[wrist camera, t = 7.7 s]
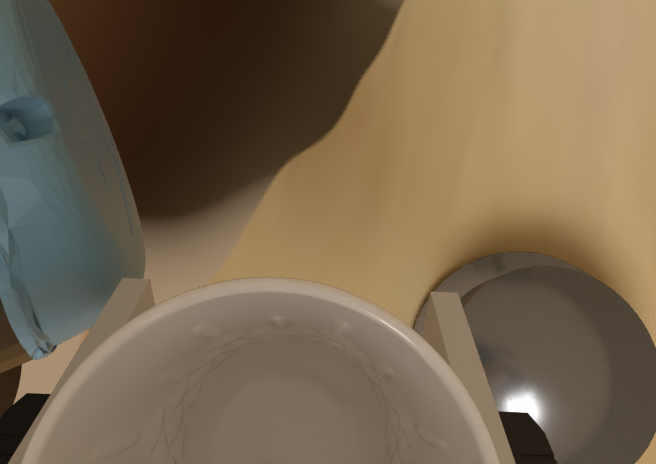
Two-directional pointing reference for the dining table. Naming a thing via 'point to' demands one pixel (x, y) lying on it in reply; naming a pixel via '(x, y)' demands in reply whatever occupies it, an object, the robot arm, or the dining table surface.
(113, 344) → the white cup
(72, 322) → the robot arm
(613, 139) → the dining table surface
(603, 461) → the grey round shallow piece
